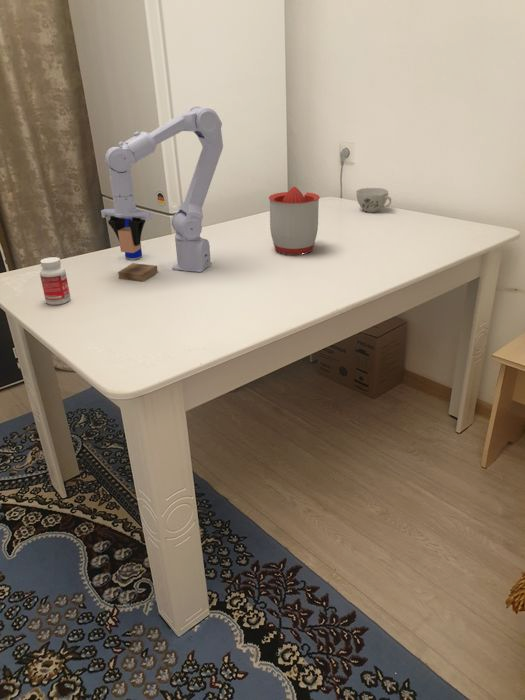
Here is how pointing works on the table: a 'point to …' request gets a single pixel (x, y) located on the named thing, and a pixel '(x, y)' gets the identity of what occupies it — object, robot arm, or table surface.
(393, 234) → the table surface
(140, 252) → the beverage can
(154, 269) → the plinth
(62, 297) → the pill bottle
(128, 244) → the block
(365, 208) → the teacup
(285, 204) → the citrus juicer
